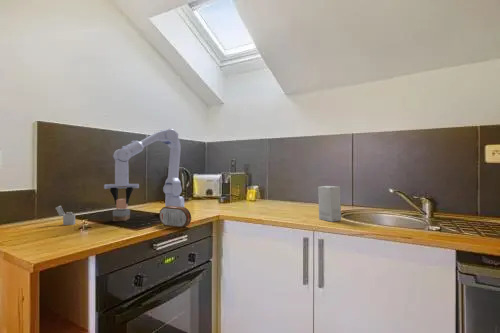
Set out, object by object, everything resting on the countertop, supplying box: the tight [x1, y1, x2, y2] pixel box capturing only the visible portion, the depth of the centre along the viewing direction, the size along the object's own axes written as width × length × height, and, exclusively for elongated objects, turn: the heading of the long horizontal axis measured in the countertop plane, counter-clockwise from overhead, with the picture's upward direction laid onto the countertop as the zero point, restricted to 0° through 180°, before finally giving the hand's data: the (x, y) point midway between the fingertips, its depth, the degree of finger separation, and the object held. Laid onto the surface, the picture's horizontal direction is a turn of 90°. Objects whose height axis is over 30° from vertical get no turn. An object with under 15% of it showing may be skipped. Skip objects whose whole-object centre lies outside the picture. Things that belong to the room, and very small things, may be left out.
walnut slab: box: [112, 214, 131, 222], centre depth 126 cm, size 6×6×2 cm
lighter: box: [55, 205, 76, 226], centre depth 117 cm, size 7×2×8 cm, turn 98°
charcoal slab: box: [112, 208, 131, 217], centre depth 126 cm, size 5×5×2 cm
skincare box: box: [317, 185, 342, 223], centre depth 126 cm, size 8×7×16 cm
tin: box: [159, 206, 192, 229], centre depth 113 cm, size 15×3×8 cm, turn 65°
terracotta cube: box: [115, 198, 129, 210], centre depth 126 cm, size 4×4×4 cm
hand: (122, 203), depth 126 cm, fingers closed on terracotta cube, 4 cm apart
